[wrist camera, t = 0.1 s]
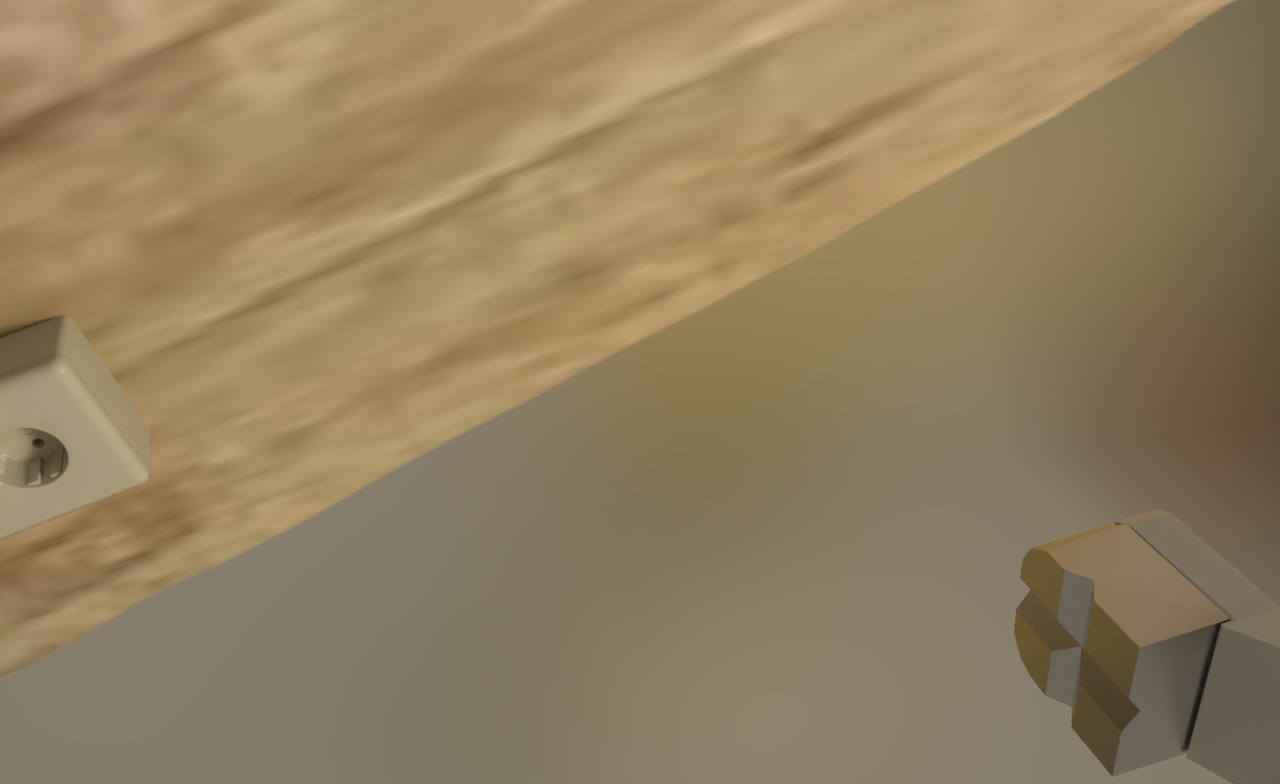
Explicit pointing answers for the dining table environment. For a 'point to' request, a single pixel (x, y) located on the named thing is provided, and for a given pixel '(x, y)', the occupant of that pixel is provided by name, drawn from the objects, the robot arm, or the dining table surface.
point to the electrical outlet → (62, 427)
